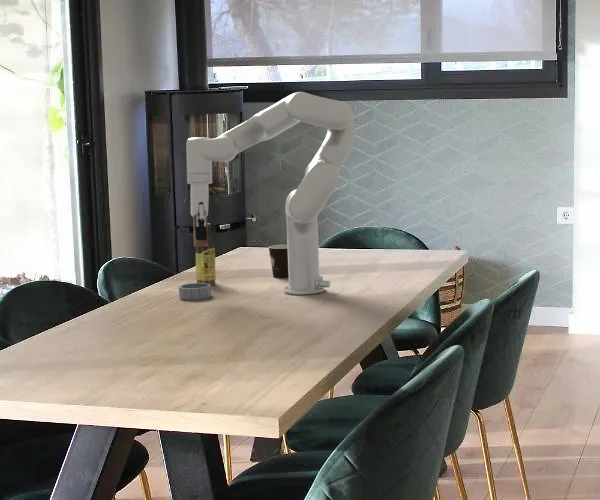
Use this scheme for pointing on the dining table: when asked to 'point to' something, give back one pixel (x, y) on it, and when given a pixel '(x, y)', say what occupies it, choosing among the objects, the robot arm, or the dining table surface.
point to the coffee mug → (279, 261)
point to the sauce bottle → (206, 261)
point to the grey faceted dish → (194, 291)
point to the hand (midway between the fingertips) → (200, 238)
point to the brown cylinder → (196, 242)
